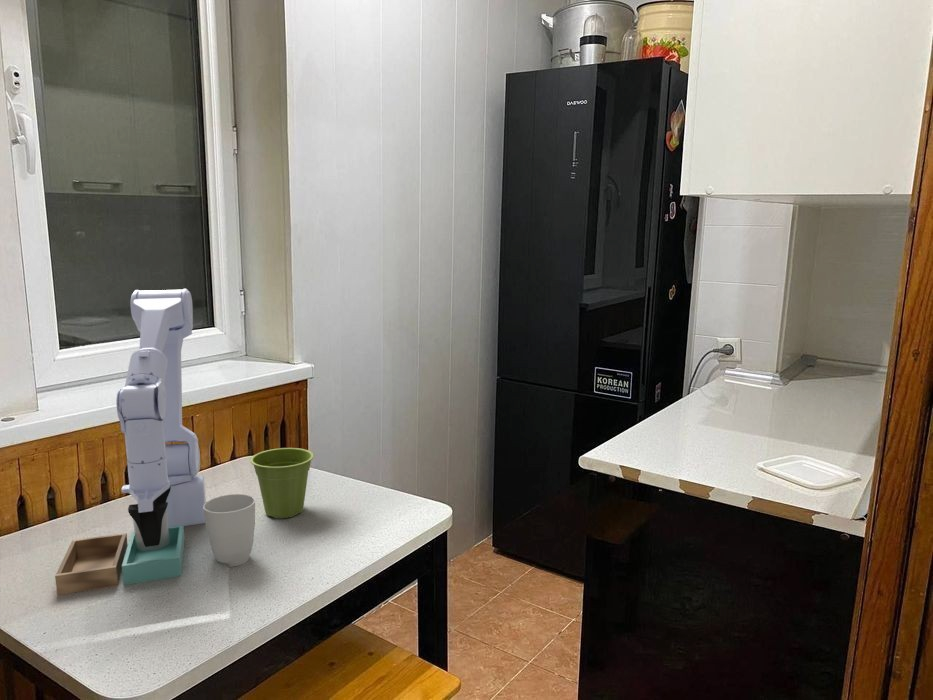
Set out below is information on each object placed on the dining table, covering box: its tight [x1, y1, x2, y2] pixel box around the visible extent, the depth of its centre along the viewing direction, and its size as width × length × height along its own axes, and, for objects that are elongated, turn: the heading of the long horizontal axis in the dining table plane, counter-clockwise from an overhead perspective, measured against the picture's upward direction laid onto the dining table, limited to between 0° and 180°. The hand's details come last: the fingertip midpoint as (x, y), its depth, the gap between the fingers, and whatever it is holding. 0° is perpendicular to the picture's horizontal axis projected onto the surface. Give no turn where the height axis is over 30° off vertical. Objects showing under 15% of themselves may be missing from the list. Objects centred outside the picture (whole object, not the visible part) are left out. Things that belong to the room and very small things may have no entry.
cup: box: [203, 493, 256, 568], centre depth 117 cm, size 8×8×10 cm
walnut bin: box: [54, 532, 129, 596], centre depth 113 cm, size 8×13×4 cm, turn 19°
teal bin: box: [121, 525, 186, 586], centre depth 116 cm, size 8×13×4 cm, turn 19°
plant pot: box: [249, 447, 315, 519], centre depth 137 cm, size 12×12×11 cm
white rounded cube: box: [132, 511, 170, 551], centre depth 115 cm, size 5×5×5 cm
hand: (153, 538), depth 115 cm, fingers closed on white rounded cube, 5 cm apart
